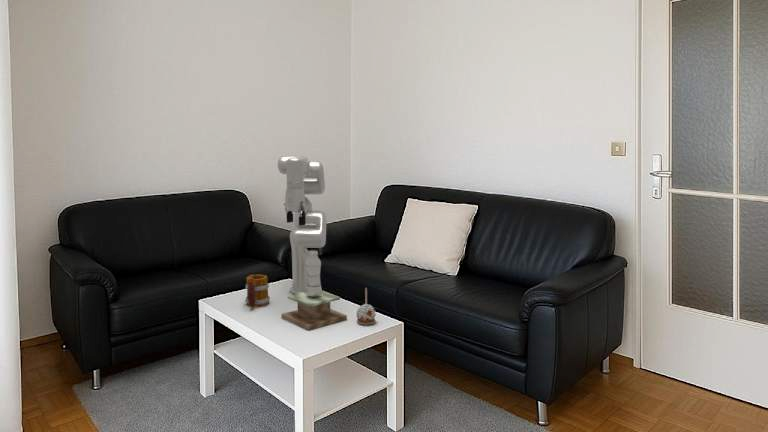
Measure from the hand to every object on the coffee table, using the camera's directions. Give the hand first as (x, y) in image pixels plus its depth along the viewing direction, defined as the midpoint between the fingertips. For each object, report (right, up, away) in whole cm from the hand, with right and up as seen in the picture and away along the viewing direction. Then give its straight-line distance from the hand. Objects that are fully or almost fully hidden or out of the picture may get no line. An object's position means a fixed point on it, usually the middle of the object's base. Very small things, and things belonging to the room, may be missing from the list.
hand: (296, 223), depth 270 cm
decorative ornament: (+32, -42, -16) cm, 55 cm away
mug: (-19, -38, +7) cm, 43 cm away
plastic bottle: (+10, -31, -13) cm, 35 cm away
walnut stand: (+10, -41, -12) cm, 43 cm away
